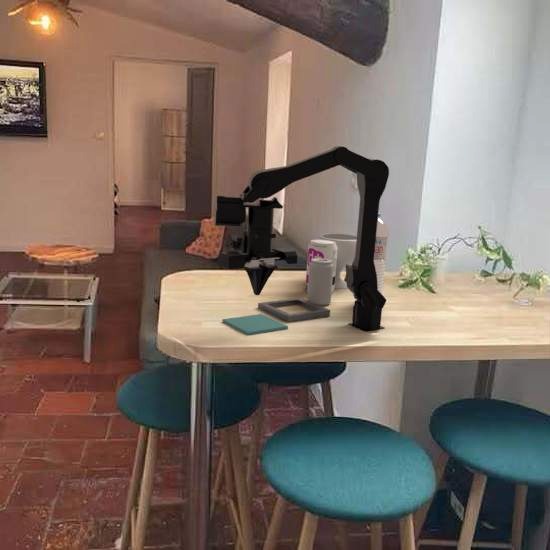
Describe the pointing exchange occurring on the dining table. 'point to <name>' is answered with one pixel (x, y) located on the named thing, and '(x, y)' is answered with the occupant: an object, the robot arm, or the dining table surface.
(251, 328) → the teal mat
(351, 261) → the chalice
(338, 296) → the dining table surface
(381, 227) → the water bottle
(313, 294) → the beverage can
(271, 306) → the gray square frame
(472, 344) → the dining table surface
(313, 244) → the supplement can
